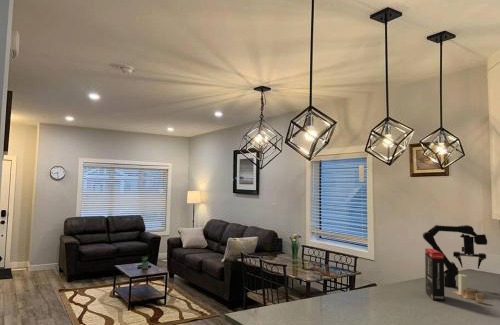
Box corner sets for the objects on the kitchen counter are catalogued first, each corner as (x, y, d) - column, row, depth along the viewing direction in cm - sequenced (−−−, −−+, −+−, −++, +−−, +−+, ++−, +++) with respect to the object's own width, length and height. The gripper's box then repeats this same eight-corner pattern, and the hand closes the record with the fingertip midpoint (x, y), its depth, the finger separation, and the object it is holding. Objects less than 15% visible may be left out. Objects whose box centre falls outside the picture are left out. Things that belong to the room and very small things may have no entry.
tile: (451, 291, 233) (451, 290, 233) (466, 292, 232) (466, 291, 232) (458, 295, 224) (458, 294, 224) (474, 296, 223) (474, 295, 223)
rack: (461, 296, 221) (461, 287, 222) (475, 297, 221) (475, 288, 221) (473, 302, 208) (473, 293, 209) (488, 303, 208) (487, 294, 208)
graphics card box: (445, 301, 208) (445, 253, 210) (432, 300, 209) (432, 252, 212) (436, 294, 225) (436, 248, 227) (424, 292, 226) (424, 248, 228)
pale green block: (458, 292, 230) (458, 274, 231) (464, 292, 230) (464, 274, 230) (461, 293, 226) (461, 275, 227) (467, 294, 226) (467, 276, 227)
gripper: (484, 243, 247) (486, 267, 245) (452, 242, 256) (454, 265, 255) (485, 245, 237) (487, 270, 236) (452, 244, 246) (453, 267, 245)
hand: (470, 268), depth 243 cm, fingers open, 9 cm apart
